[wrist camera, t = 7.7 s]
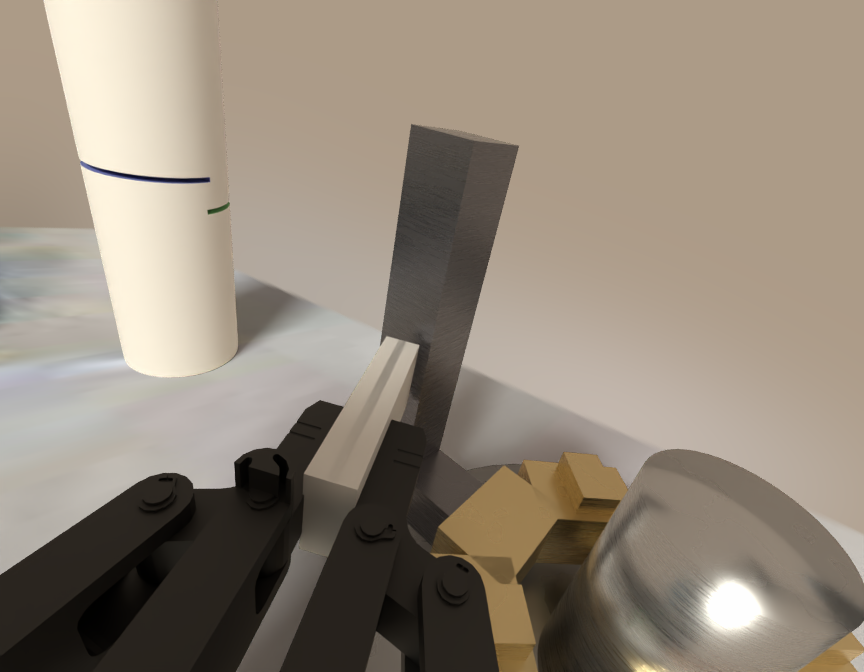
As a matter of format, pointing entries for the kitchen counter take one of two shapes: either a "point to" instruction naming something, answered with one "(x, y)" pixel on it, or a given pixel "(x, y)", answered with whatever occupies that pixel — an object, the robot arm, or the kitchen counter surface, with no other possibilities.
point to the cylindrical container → (154, 172)
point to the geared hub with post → (435, 384)
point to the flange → (688, 580)
